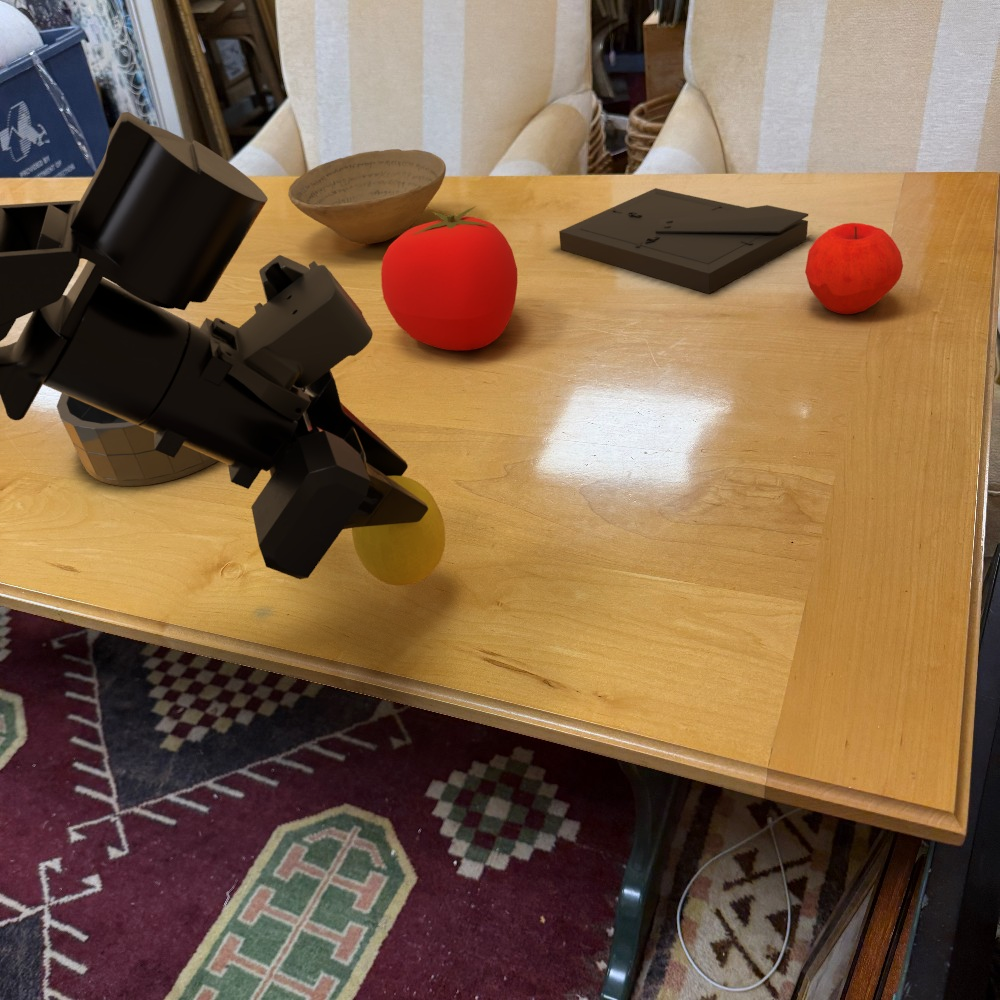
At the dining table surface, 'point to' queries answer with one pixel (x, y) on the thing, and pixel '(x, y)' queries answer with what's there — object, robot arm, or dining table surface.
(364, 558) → the lemon
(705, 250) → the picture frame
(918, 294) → the dining table surface
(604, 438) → the dining table surface
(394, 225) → the bowl
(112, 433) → the pot
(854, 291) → the apple
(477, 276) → the tomato
